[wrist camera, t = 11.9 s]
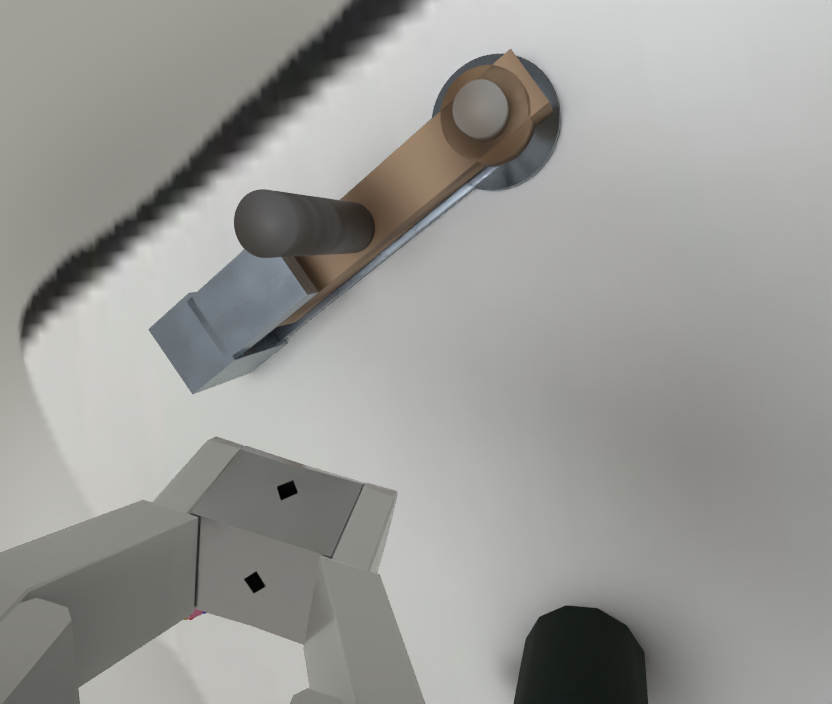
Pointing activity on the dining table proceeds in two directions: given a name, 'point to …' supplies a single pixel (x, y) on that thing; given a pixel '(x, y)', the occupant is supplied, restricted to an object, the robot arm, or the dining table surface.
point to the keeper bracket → (290, 286)
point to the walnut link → (398, 180)
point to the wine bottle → (581, 661)
